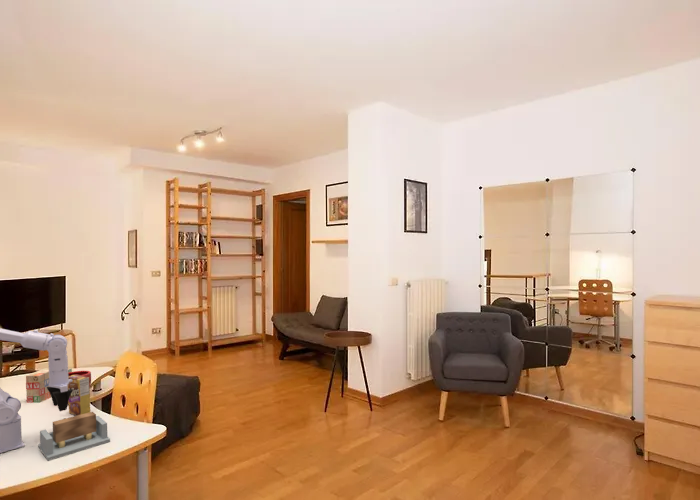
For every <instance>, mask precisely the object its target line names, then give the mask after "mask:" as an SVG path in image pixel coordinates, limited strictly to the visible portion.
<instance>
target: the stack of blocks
mask: <svg viewBox="0 0 700 500" xmlns="http://www.w3.org/2000/svg"><path fill="white" fill-rule="evenodd" d="M69 372H73V370H72V368H69V367H68V373H69ZM47 387H49V367H45V368H42V369H40V370H37V371H35V372H32V373H29V374H27V375H26V376H25V391H26V404H27V403H28V404H29V403H30V404H31V403H33V404H34V403H36V404H37V403H38V404H39V403H43V402H44V401H46V400H49V399H50V398H51V399H52V397H51V395H50V392H49V391H48V389H47Z"/></svg>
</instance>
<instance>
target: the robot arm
mask: <svg viewBox="0 0 700 500" xmlns="http://www.w3.org/2000/svg"><path fill="white" fill-rule="evenodd" d="M0 341H6V342H10V343H11V342H12V343H13V342H14V343H19V344H20V345H21V346H22V347H23V348H26V349H32V350H38V351H43V352H44V351H47V352H48V359H47V362H48V363H47V364H48V368H49V387H47V389H48V391H49V392H50V395H51V401H52V404H53V406H54V407H57V408H58V411H59V412H64V411H67V408H68V407H69V404H68V401H69V397H70V395H71V393H72V389H69V390H68V384H69V382H72V379H68V368H69V362H68V361H69V360H68V350H67V347H68V340H67V337H65V336H63V335H61V334H60V333H59V334H55V333H52V332H51V333H50V334H49V333H43V332H39V330H38V329H34V330H28V331H26V332H19V331H15V330H10V329H5V328H0ZM21 407H22V402H21V401H20V399H18V398H16V397H14V396H12V395H11V394H10V393H9V392H7V391H5V390H3V388H1V387H0V454H2V453H4V452H9V451H13V450H16V449H20V448H23V447H25V446H26V444H25V443H24V440H22V416H21V415H20V414H19V413H18V412H19V411H20V409H21Z"/></svg>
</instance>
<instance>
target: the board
mask: <svg viewBox="0 0 700 500" xmlns="http://www.w3.org/2000/svg"><path fill="white" fill-rule="evenodd" d="M96 416H97V414H96V413H95V412H94V411H90V412H89V413H85V414H82V415H78V416H76V415H73V416H71V417H66V418H63V419H59V420H53V421H52V432H53V440H54V441H55V443H58V442H61V441H65V440H68V439H72V438H75V437H79V436H82V435H86V434H89V433H93V432H96Z"/></svg>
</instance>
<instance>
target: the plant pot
mask: <svg viewBox="0 0 700 500" xmlns="http://www.w3.org/2000/svg"><path fill="white" fill-rule="evenodd" d="M76 374H78V375H81V376H85V377H89V388H90V389H91V385H92V372H91V371H90V370H77V371H72V372H69V373H68V377H69V376H72V375H76ZM68 405H69V401H68Z"/></svg>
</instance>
